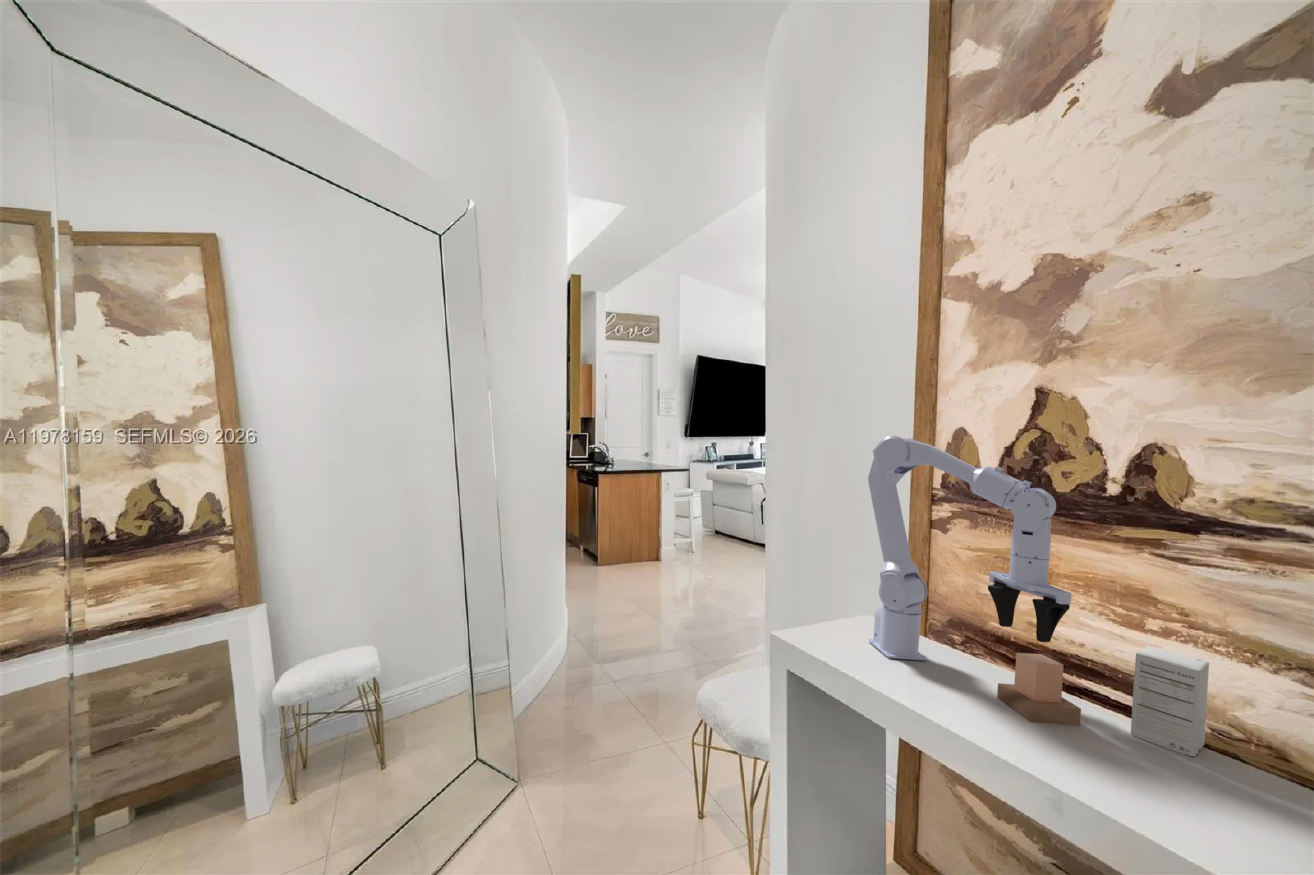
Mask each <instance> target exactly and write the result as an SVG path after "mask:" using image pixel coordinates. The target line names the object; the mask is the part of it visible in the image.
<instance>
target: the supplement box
mask: <svg viewBox="0 0 1314 875" xmlns="http://www.w3.org/2000/svg"><path fill="white" fill-rule="evenodd" d="M1134 662H1135V663H1134V676H1133V678H1134V679H1133V690H1132V704H1131V705H1132V706H1131V720H1130V721H1131V724H1130V725H1131V726H1130V735H1132V736H1133V737H1136V738H1138V739H1141V740H1144V741H1146V742H1150V743H1151V744H1155V745H1157V746H1160V747H1163V748H1166V749H1168V750H1172V751H1174V752H1176V753H1180V754H1182V755H1185V754H1188V755H1191V756H1195V755H1196V754H1197V753H1198V754H1199V752H1200V751H1199V749H1200V750H1202V748H1203V746H1204V745H1205V738H1206V737H1205V736H1206V735H1205V734H1206V718H1207V703H1208V688H1209V686H1208V685H1209V673H1210V672H1209V668H1210V662H1208V661H1206V660H1203V659H1200V658H1197V657H1192V656H1188V655H1184V654H1180V653H1176V652H1172V651H1168V650H1164V649H1161V648H1157V647H1153V646H1146V647H1144V648H1143V649H1141V650H1140V651H1137V652H1136V653H1135V661H1134ZM1198 751H1199V752H1198ZM1198 754H1197V755H1198ZM1197 755H1196V756H1197ZM1196 756H1195V757H1196Z"/></svg>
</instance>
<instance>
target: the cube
mask: <svg viewBox="0 0 1314 875" xmlns="http://www.w3.org/2000/svg"><path fill="white" fill-rule="evenodd" d="M1014 671H1015V672H1014V683H1013V684H1014V689H1015V690H1017V691H1018V692H1020V693H1021V694H1023V695H1025V696H1026V697H1028V698H1030V699H1031V700H1033V701H1035V702H1056V703H1061V697H1062V698H1063V696H1062V694H1063V681H1064V664H1062V663H1060V662H1059V661H1056V660H1055V659H1052V658H1050V657H1048V656H1047V655H1044V654H1041V653H1026V652H1016V655H1015V670H1014Z"/></svg>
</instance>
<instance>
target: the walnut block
mask: <svg viewBox="0 0 1314 875" xmlns="http://www.w3.org/2000/svg"><path fill="white" fill-rule="evenodd" d="M996 693H997V695H996V699H998V700H999V701H1000V702H1001V703H1003V704H1005V705H1006V706H1007V707H1008V708H1009V709H1011V710H1013V711H1014V712H1015V713H1017V714H1019V715H1020V716H1022V718H1024V719H1025V720H1027V721H1028V722H1029V723H1041V724H1042V723H1043V724H1044V723H1045V724H1055V725H1056V724H1057V725H1069V726H1080V725H1081V714H1082V708H1081V707H1080V706H1077V705H1076V704H1074V703H1073V702H1071V701H1069V700H1068V699H1066V698H1064V697H1063V696H1062V697H1061V703H1056V702H1035V701H1033V700H1031V699H1030V698H1028V697H1026V696H1025V695H1023V694H1021V693H1020V692H1018V691H1017V690H1015V689H1014V683H1013V684H1012V683H1001V682H998V683H997V692H996Z"/></svg>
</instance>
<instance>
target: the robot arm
mask: <svg viewBox="0 0 1314 875" xmlns="http://www.w3.org/2000/svg"><path fill="white" fill-rule="evenodd" d="M872 454H873V460H872V463H871V466H870V469H869V473H868V477H867V481H868V487H869V493H870V497H871V503H872V507H873V513H874V518H875V519H874V520H875V524H876V527H877V534H878V539H879V543H880V548H881V553H882V559H883V565H882V566H881V569H880V571H879V577H880V584H879V587H878V596H879V599H880V601H881V604H880V605H879V606H878V607H877V609H876V610H875V614H874V625H873V635H872V637H873V638H871V639H868V642H869V643H870V644H871V645H873V646H874V647H875V648H876V649H877V650H878V651H879V652H881V653H882V654H883V655H884V656H886V658H889V659H898V660H911V661H912V660H913V661H928V658H927V657H926V656H925V655H923V654H922V653H921V652H920V651H919V647H920V633H921V619H922V618H921V617H922V608H921V604H922V603H923V602H924V601H925V600H926V598H927V596H928V587H927V584H926V583H925V581H924V580H923V577H922V576H921V574H920V571H919V567H918V566H917V565H916V563H915V562H914V561H913V559H912V556H911V550H910V546H909V542H908V537H907V532H906V527H905V520H904V517H903V513H902V507H901V503H900V497H899V492H898V488H897V484H898V483H899V482H900V481H901V480H902V479H903V477H904V476H905V474H907V473H908V472H911V470H914V469H915V468H917V467H919V466H931V467H933V468H935V469H937V470H940V471H942V472H945V473H947V474H948V475H951V476H953V477H955V478H958V479H959V480H961V481H964V482H966V483H968V484H969V487H970V490H971V492H972V493H973V494H974V495H977V496H979V497H980V498H983V499H985V500H987V501H988V502H990V503H992V504H995V506H996V505H997V506H998V507H1000V508H1003V509H1004V510H1007V511H1009V510H1010V512H1011V513H1012V515H1013V524H1012V526H1013V527H1012V530H1011V541H1010V542H1011V543H1010V545H1011V546H1010V556H1009V569H1008V573H1006V572H1005V573H1004V572H1002V571H989V575H988V576H989V577H988V581H989V582H990V583H993V584H991V585H990V584H988V586H987V590H988V592H989V594H990V596H991V598H992V600H993V603H994V606H995V609H996V614H997V620H998V623H999V624H998V625H999V626H1000V627H1005V628H1006V627H1007V628H1009V627H1010V628H1011V627H1013V623H1014V618H1015V610H1016V605H1017V601H1018V598H1019V595H1020V593H1021V591H1022V592H1024V593H1027V594H1031V595H1034V596H1036V597H1041V598H1032V604H1033V607H1034V610H1035V611H1034V612H1035V617H1036V618H1035V619H1036V620H1035V621H1036V626H1035V627H1036V628H1035V629H1036V630H1035V636H1036V642H1037V641H1038V642H1040V643H1051V640H1052V638H1053V636H1054V632H1055V630H1056V628H1057V626H1058V624H1059V622H1060V620H1061V619H1062V618H1063V616H1064V615H1066V613H1067V612H1068V611H1069V610H1070V607H1071V606H1070V605H1071V603H1072V602H1071V601H1072V592H1070V591H1066V590H1064V589H1061V588H1058V587H1057V586H1053V585H1051V584H1049V583H1048V582H1049V581H1048V580H1049V568H1050V555H1051V540H1052V532H1051V528H1052V518H1051V517H1053V516H1054V514H1055V512H1056V510H1057V502H1056V500H1055V498H1054V496H1053V495H1052V494H1051V493H1049V492H1047V491H1046V490H1045V489H1044V488H1041V487H1032V488H1031V485H1032V482H1030V481H1028V480H1023V481H1022V480H1019V479H1017V478H1015V477H1013V476H1011V475H1009V474H1007V473H1005V472H1004V471H1005V469H1004V468H1002V467H1000V466H995V467H991V466H985V467H981V468H978V467H976V466H973V465H971V464H969V463H967V462H966V461H964V460H962V459H960V458H958V457H956V456H954V455H952V454H951V453H949V452H947V451H945V450H943V449H940V448H938V447H936V446H934V445H931V444H929V443H926V442H925V443H924V442H923V441H922V442H920V441H919V440H917V439H914V438H905V437H900V436H897V435H888V436H885V437H884V438H883V439H881V440H880V441H879V443H878V444H877V445H876V446H875V447H874V448H873V450H872Z"/></svg>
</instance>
